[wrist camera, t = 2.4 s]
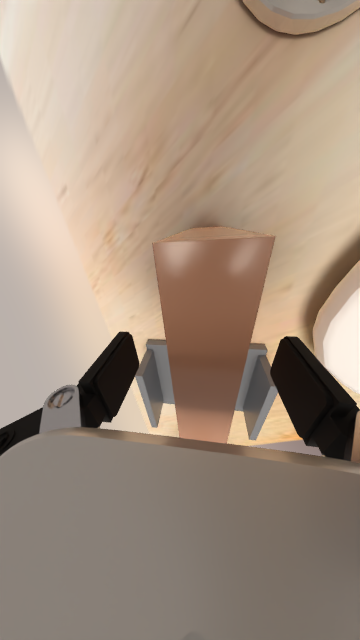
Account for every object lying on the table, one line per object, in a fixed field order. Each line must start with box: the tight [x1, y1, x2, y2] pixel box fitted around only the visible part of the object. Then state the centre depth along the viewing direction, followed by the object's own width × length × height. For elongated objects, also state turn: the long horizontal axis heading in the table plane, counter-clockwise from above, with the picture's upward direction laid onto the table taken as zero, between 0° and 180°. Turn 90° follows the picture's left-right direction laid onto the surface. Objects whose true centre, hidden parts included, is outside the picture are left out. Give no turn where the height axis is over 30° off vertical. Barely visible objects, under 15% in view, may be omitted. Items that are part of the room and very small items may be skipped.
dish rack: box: [135, 340, 278, 440], centre depth 25 cm, size 16×18×6 cm
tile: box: [152, 226, 275, 444], centre depth 13 cm, size 12×3×14 cm, turn 3°
